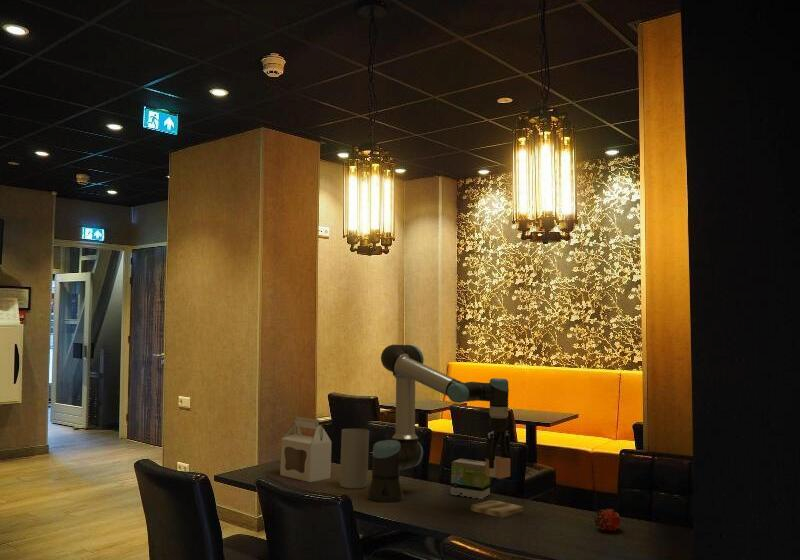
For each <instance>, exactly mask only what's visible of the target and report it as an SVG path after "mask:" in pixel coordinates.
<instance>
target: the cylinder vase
mask: <svg viewBox="0 0 800 560" xmlns="http://www.w3.org/2000/svg"><path fill="white" fill-rule="evenodd" d="M369 440H370V430H368V429H365V428H343V429H341V442H340V445H341V446H340V447H341V448H340V467H339V468H340V469H339V486H340V487H342V488H343V489H350V490H351V489H353V490H358V489H364V488H366V487H367V486H368V474H369V473H368V471H369V445H370V444H369V443H370V442H369Z"/></svg>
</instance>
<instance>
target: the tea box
mask: <svg viewBox="0 0 800 560" xmlns="http://www.w3.org/2000/svg"><path fill="white" fill-rule="evenodd" d="M450 469H451V471H450V495H451V494H452V495H451V496H457V495H460V496H459V497H464V496H467V497H466V498H469V497H472V498H471V499H475V498H478V499H477V500H480V499H482V500H484V499H485V498H484V497H486V496H488V495H489V494H491V477H489V476H486V461H482V460H473V459H467V458H458V459H456V460H453V461H451V468H450ZM489 496H490V495H489ZM489 496H488V497H489ZM483 498H484V499H483ZM486 498H487V497H486Z"/></svg>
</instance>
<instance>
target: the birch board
mask: <svg viewBox="0 0 800 560" xmlns="http://www.w3.org/2000/svg"><path fill="white" fill-rule="evenodd" d="M524 509H525V506H523V505H518V504H513V503H510V502H509V503H508V502H504V501H499V500H495V499H491V500H487V501H482V502H480V503H479V502H477V503H474V504H471V505H470V511H472V512H476V513H479V514H484V515H489V516H492V517H493V516H494V517H497V518H502V519H503V518H504V519H505V518H507V517H510V515H511V516H514V515H517V514H516V513H518V514H520V513H519V512H521V513H523V512H522V511H524V512H525V510H524ZM513 514H514V515H513Z"/></svg>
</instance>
